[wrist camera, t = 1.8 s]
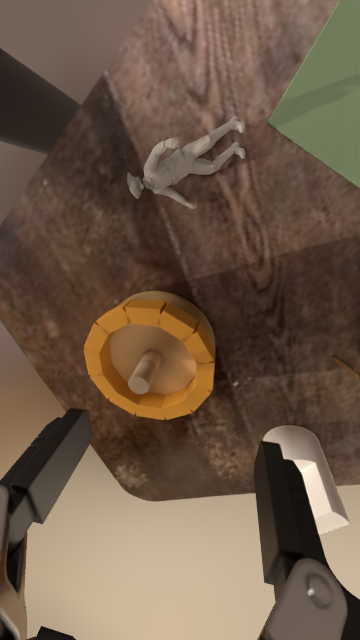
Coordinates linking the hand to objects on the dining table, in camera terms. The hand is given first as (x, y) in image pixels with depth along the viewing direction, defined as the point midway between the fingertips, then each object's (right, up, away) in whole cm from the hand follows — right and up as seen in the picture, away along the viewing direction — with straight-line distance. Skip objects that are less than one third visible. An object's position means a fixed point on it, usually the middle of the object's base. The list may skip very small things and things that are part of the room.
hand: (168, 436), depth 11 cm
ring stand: (-3, +2, +26) cm, 26 cm away
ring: (-3, 0, +22) cm, 23 cm away
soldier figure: (+2, +22, +16) cm, 27 cm away
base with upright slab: (+19, -16, +30) cm, 39 cm away
